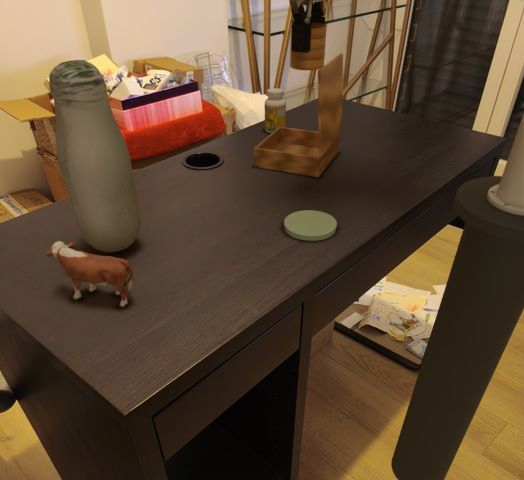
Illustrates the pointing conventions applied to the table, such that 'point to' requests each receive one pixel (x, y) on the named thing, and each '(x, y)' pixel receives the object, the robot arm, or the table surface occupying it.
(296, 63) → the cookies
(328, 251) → the table surface
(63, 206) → the table surface
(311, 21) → the robot arm
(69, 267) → the bull figurine
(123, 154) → the grey green bottle
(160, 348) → the table surface
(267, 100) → the supplement bottle
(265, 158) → the wooden box
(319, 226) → the plate
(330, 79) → the lid
